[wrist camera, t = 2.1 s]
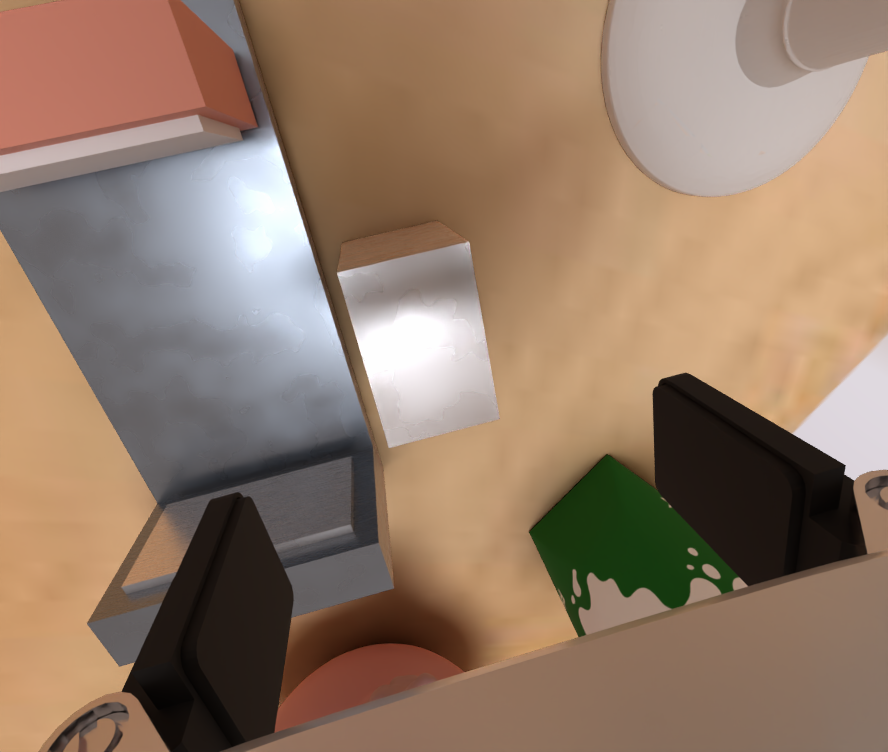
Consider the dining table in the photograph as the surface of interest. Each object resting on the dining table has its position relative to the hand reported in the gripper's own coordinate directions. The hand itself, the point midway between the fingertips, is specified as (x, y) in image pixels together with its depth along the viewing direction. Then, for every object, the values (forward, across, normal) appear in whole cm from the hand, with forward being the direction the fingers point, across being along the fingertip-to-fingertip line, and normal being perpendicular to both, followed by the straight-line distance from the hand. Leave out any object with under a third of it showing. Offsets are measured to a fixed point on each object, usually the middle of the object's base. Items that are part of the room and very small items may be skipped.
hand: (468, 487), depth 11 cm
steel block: (+14, 0, -1) cm, 14 cm away
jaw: (+12, +9, -10) cm, 18 cm away
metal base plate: (+14, +9, -3) cm, 17 cm away
